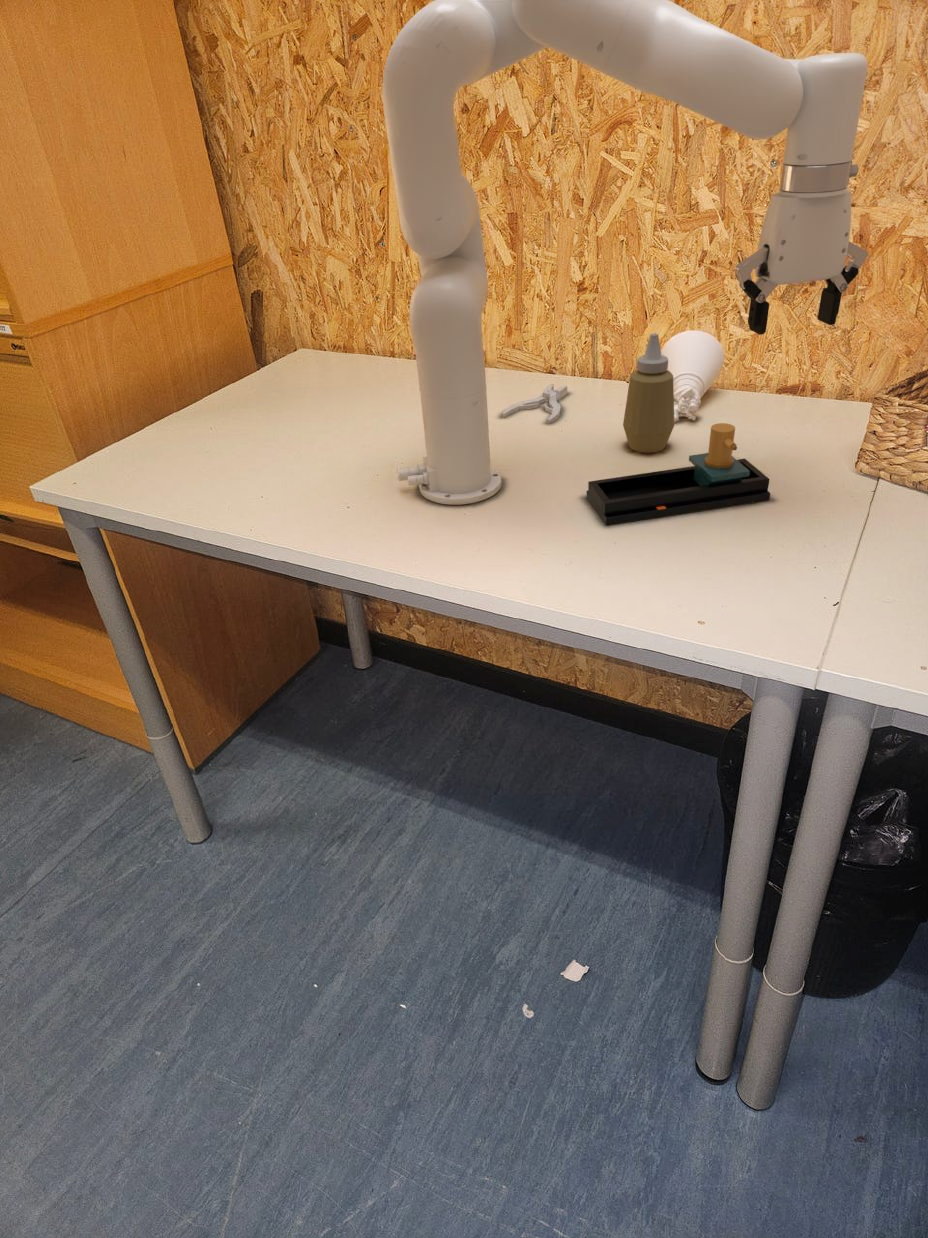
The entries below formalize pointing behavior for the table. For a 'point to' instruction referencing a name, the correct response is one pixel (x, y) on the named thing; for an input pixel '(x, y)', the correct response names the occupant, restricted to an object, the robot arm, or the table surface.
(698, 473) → the nozzle
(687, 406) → the rocket engine
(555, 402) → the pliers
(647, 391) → the squeeze bottle
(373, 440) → the table surface
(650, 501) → the black rectangular tray
